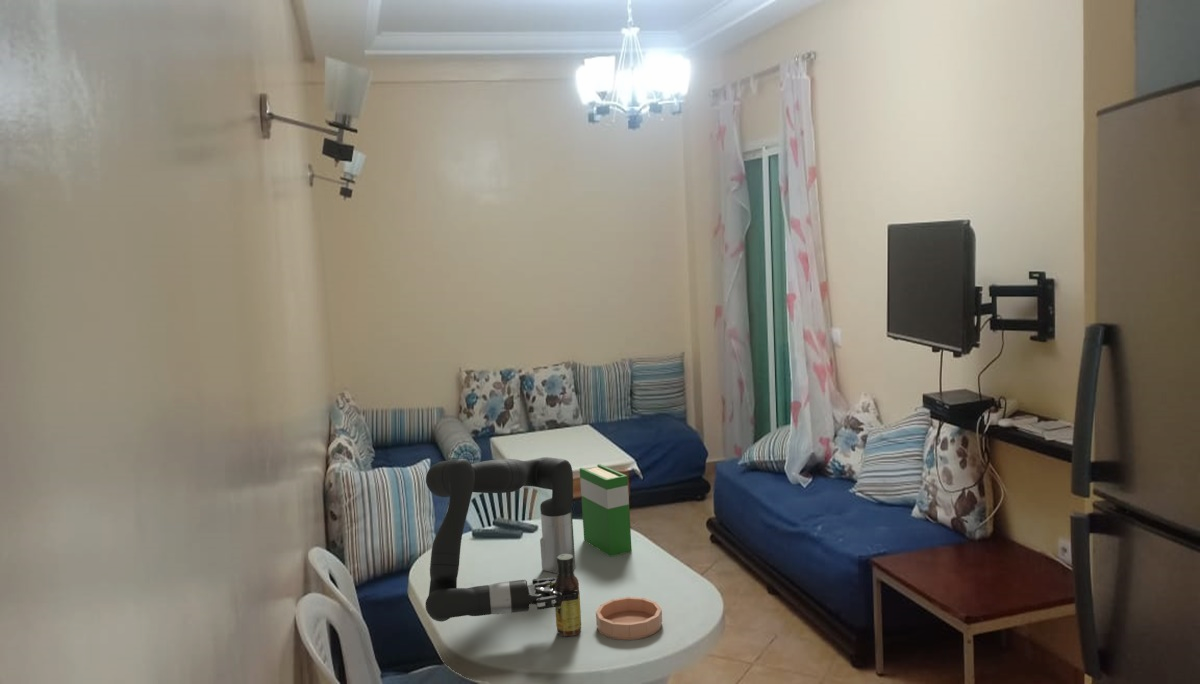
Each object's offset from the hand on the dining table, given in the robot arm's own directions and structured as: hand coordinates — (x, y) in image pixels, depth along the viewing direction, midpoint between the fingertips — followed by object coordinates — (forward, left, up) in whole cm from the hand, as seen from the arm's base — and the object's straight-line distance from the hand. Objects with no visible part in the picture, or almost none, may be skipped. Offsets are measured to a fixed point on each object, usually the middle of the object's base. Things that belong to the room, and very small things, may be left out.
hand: (576, 589), depth 224 cm
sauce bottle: (-2, -1, -11) cm, 11 cm away
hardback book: (-9, +60, -11) cm, 61 cm away
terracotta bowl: (+12, +5, -11) cm, 17 cm away
